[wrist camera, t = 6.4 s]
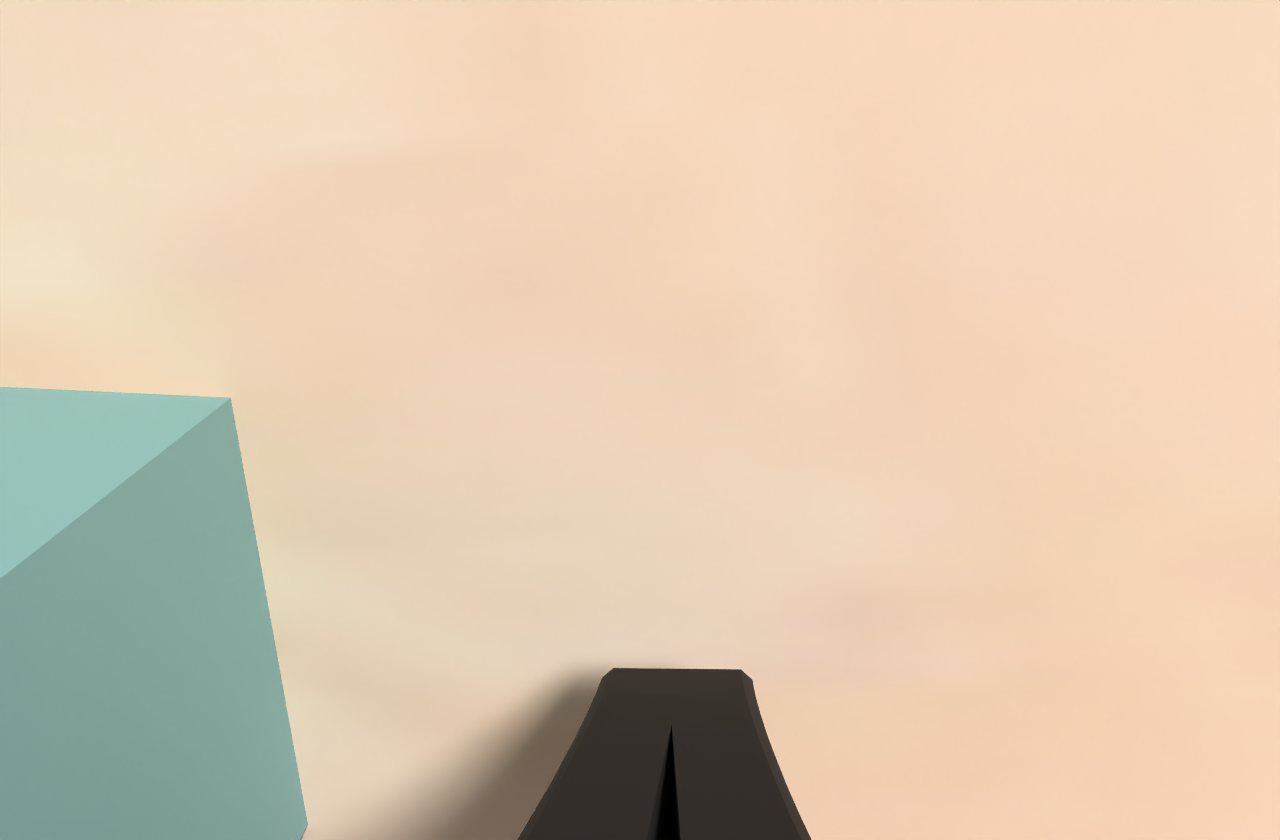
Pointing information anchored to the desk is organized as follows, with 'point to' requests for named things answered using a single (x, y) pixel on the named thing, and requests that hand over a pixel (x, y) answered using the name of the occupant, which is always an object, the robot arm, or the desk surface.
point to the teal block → (135, 627)
